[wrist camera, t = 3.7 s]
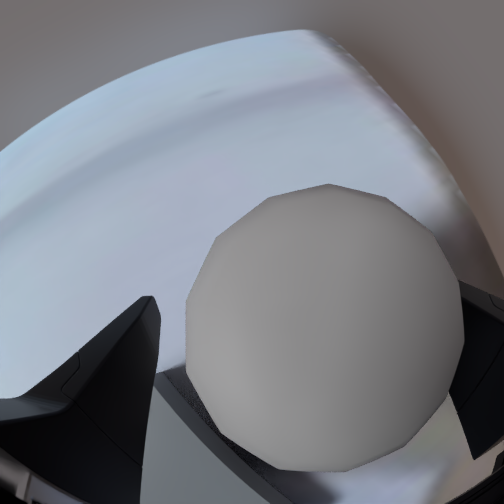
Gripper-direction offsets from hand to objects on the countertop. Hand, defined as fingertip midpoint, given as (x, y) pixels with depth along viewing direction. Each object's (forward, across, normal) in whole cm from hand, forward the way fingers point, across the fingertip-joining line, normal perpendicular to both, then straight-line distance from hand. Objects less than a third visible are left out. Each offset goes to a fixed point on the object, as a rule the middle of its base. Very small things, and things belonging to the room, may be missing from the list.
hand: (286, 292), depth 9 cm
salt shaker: (+4, 0, +6) cm, 7 cm away
